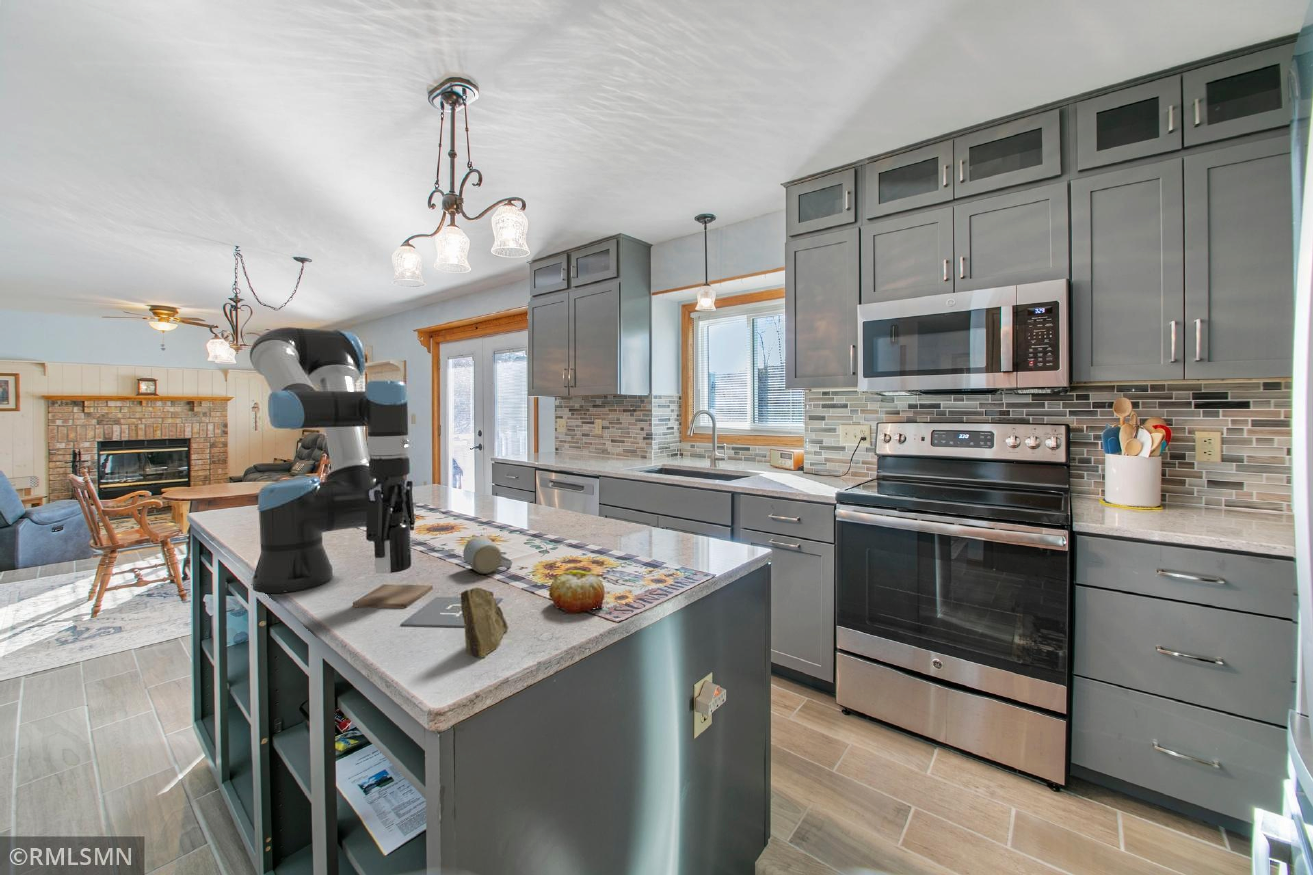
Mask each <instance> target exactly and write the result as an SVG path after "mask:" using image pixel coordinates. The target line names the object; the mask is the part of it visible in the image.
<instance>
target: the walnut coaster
mask: <svg viewBox="0 0 1313 875" xmlns="http://www.w3.org/2000/svg"><path fill="white" fill-rule="evenodd" d="M432 590H433V585H432V584H431V585H430V584H429V585H428V584H382V585H380V586H379V587H377V588H375V589H373V590H371V591H370V592H369V593H367V594H365V595H362V597H360V598H358V599H357V600H354V601H353V602H352V607H355V608H356V607H358V608H397V609H399V608H401V609H402V608H403V609H407V608H408V607H410V606H411V605H412V604H413V603H416V602H417V601H418V600H419V599H421V598H422V597H423V596H425V595H426V594H428V593H429V592H431V591H432Z"/></svg>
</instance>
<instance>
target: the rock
mask: <svg viewBox="0 0 1313 875" xmlns="http://www.w3.org/2000/svg"><path fill="white" fill-rule="evenodd" d="M460 597H461V609H462V615H463V619H464V624H465V627H464V634H465V635H464V639H465V641H464V642H465V649H466V652H468V653H469V654H470V655H472V657H475V658H480V659H486V656H487V655H489V654H490V653H492V652H493V651H494V650H495V649H497V648H498V646H499V645H500V644H501V642H502V639H503V637H504V634H505V633H506V632H507V631H508V629H509V625H508V623H507V620H506V618H505V617H504V613H503V610H502V608H501V607H500V606H499V605H497V603H496V601H495V599H494V598H495V597H494V592H493V591H489V590H486V589H483V588H480V587H474V588H471V589H466V590H464V591H462V592H461V593H460Z"/></svg>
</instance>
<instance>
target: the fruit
mask: <svg viewBox="0 0 1313 875" xmlns="http://www.w3.org/2000/svg"><path fill="white" fill-rule="evenodd" d="M548 590H549V591H548V592H549V593H548V597H550V599H551V600H552V602H553V604H554V606H555V607H556V608H557V609H560V610H564V611H565V612H566V613H569V614H570V613H571V614H574V613H576V614H577V613H579V612H580V613H581V612H582V611H584V612H582V613H586V612H585V611H588V610H590V611H592V610H591V609H593V608H597V607H599V606H600V607H601V606H602V605H603V604H604V602H603V601H604V599H605V594H606V592H605V586H604V583H603V581H602V580H601V579H600V578H599V577H598V576H597V575H596V574H594V573H592V572H586V571H583V570H581V569H579V570H578V569H573V570H572V569H571V570H566V571H564V572H561V573H560V574H558V575H556V577H555V578H554V579H553V580H552V582H551V584H550V586H549V589H548ZM600 607H599V608H600ZM597 609H598V608H597ZM588 612H589V611H588Z"/></svg>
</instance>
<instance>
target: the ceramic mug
mask: <svg viewBox="0 0 1313 875" xmlns="http://www.w3.org/2000/svg"><path fill="white" fill-rule="evenodd" d="M462 552H463V553H462V554H463V560H464V562H465V563H466V564H467V565H468V566H469V567H471V568H472V569H473V570H474V571H476V573H477V574H478V573H479V574H481V575H488V574H492V573H494V572H495V571H497V570H498V568H499V567H502V568H504V569H505V568H506V569H509V568H512V564H513V561H512V560H511V559H509V558H508V557H506V556H503V553H502V551H501V549H500V548H499V547H498V545H496V544H495V543H494V542H493V540H491V539H490V538H488V537H485V536H482V535H480V536H475V537H473V538H471V539H469V541H468V542H466V544H465V546H464V548H463V551H462Z"/></svg>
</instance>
